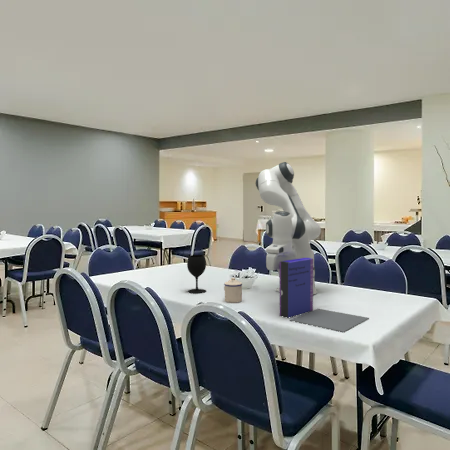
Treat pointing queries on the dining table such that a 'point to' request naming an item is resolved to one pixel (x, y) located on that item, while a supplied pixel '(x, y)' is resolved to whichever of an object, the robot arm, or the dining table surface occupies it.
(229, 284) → the lidded jar
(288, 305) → the cereal box
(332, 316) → the mat
